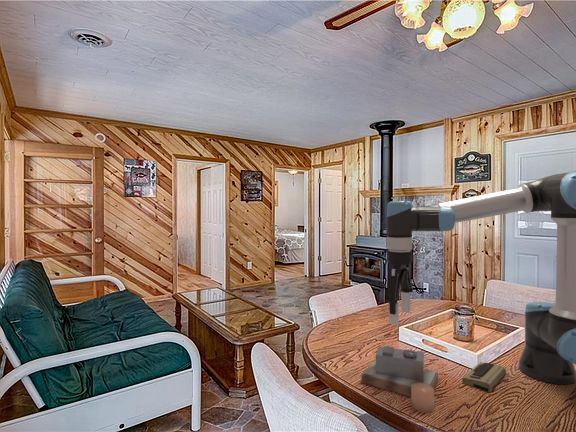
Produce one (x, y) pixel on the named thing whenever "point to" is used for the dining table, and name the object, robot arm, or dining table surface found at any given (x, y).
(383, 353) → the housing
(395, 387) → the stand
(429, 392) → the beige egg
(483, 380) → the computer
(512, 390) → the dining table surface
